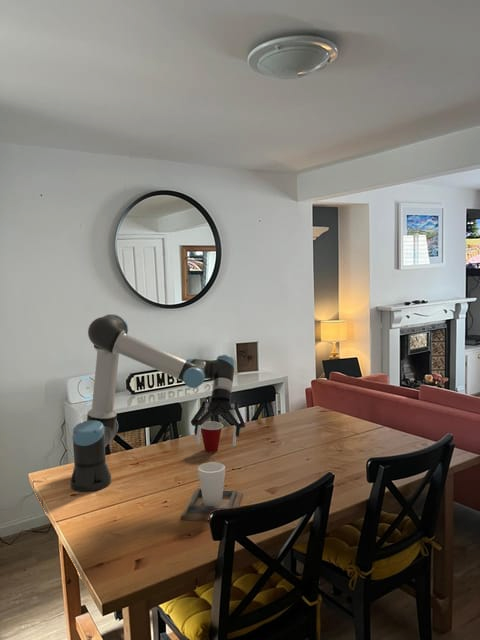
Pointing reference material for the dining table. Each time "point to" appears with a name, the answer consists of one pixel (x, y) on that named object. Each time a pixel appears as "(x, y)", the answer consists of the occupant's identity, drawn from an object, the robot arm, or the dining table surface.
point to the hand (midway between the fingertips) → (215, 443)
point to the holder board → (201, 512)
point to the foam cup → (212, 482)
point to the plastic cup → (211, 435)
